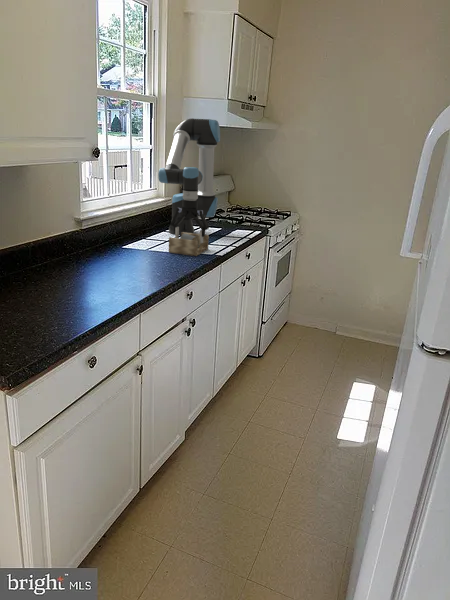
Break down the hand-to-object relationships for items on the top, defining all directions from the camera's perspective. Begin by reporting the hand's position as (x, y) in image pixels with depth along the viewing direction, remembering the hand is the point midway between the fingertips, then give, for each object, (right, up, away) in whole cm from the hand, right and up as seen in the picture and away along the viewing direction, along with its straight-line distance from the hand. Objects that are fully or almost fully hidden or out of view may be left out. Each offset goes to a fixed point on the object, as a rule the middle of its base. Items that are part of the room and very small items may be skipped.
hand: (189, 241), depth 248 cm
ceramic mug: (0, -4, +3) cm, 5 cm away
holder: (0, -5, +2) cm, 5 cm away
